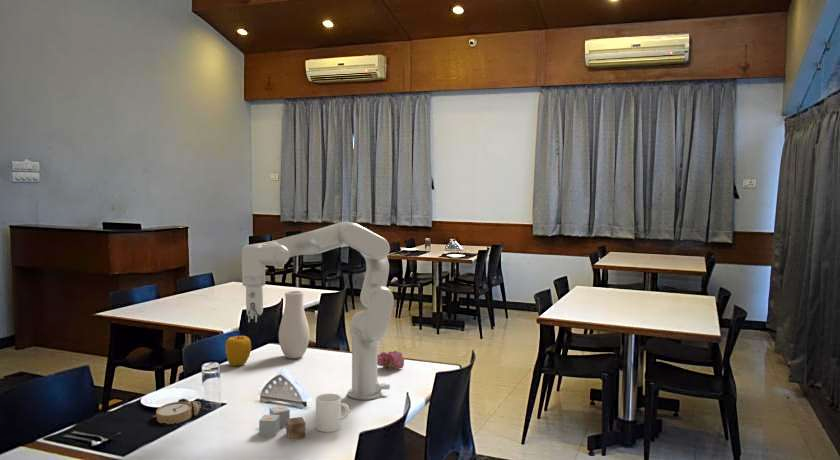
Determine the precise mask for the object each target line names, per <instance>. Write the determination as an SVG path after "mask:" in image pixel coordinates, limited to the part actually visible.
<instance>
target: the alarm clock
mask: <svg viewBox="0 0 840 460" xmlns="http://www.w3.org/2000/svg"><path fill="white" fill-rule="evenodd" d="M201 408H202V404H201V402H200V401H198V400H189V399H187V398H184V397H183V398H180V399H178V401H174V402H169V403H166V404H164V405H161V406H159V407H158V408H157V409H156V410H155V413H156V414H155V415H153V416H152V418H156V422H157V421H158V423H159V424H162V423H166V424H165V425H176V424H180V423H184V422H185V421H188V420H190V419H191V418H192V417H193V416H197V415H198V414H199V412H200V409H201ZM175 423H176V424H175Z"/></svg>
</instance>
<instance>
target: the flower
mask: <svg viewBox="0 0 840 460" xmlns="http://www.w3.org/2000/svg"><path fill="white" fill-rule="evenodd" d="M404 365H405V357H403V353H402V352H401V351H399V350H393V351H392V350H391V351H388V352H386V351H382V352H380V353H379V355H377V366H378V367H382V368H384V366H385V367H387V368H388V369H389V370H390V369H391V368H393V367H394V368H395V369H397V370H400V369H399V368H402V369H403V367H404Z"/></svg>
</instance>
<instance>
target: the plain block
mask: <svg viewBox="0 0 840 460" xmlns="http://www.w3.org/2000/svg"><path fill="white" fill-rule="evenodd" d="M285 434H286V437H287V439H288V441H294V440H300V439H301V440H302V439H306V421H305V420H304V418H303V416H297V417H292V418H291V417H290V419H286V426H285Z"/></svg>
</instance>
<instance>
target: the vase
mask: <svg viewBox="0 0 840 460" xmlns="http://www.w3.org/2000/svg"><path fill="white" fill-rule="evenodd" d="M284 297H285V299H284V300H285V303H284V310H283V313H282V317H281V321H280V324H279V329H278V342H279V346H280V349H281V351H282V354H283V355H284V356H285V357H286V358H287V359H293V360H294V359H299V358H301V357H303V356H304V355H305V353H306V352H307V349H308V346H309V343H310V327H309V326H310V325H309V321H308V319H307V316H306V315H307V314H306V312H305V307H304V292H303V291H301V290H289V291H286V292H284Z"/></svg>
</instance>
